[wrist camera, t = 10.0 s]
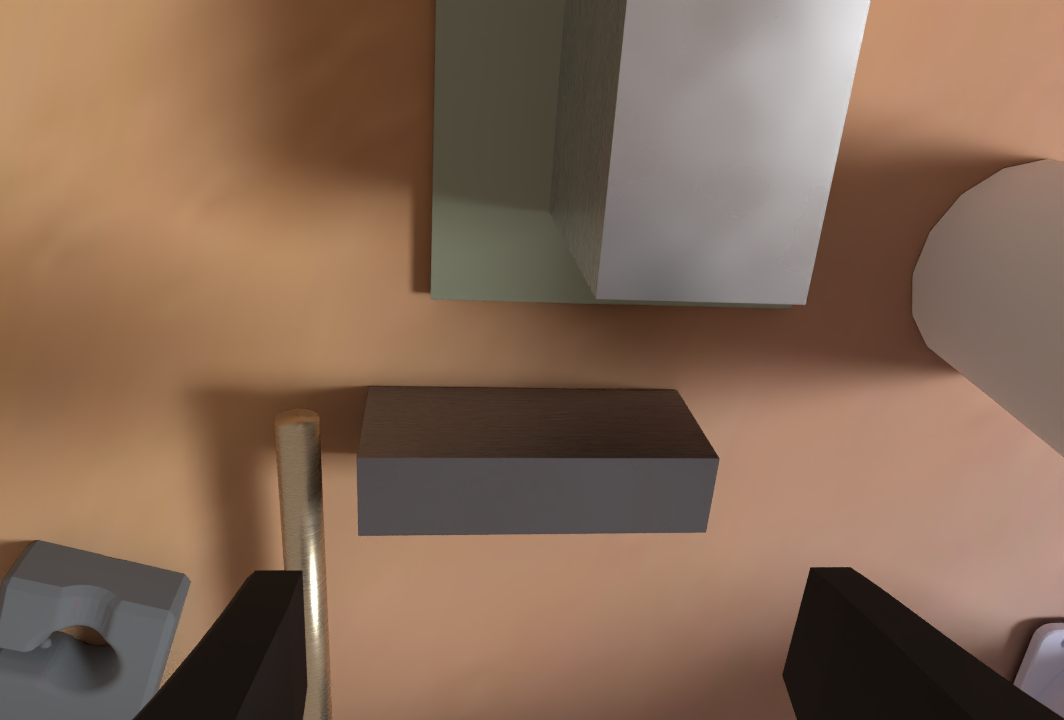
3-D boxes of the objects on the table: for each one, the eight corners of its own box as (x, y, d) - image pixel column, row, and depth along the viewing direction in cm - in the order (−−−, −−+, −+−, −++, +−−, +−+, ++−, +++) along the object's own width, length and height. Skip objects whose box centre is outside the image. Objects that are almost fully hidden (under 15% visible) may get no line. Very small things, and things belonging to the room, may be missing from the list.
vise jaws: (677, 390, 21) (719, 458, 18) (612, 810, 28) (635, 915, 25) (286, 385, 20) (259, 457, 17) (313, 826, 26) (296, 939, 23)
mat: (915, -336, 16) (926, -344, 15) (785, 303, 21) (791, 309, 20) (443, -400, 14) (443, -410, 14) (431, 293, 20) (430, 299, 19)
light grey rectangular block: (760, -183, 16) (930, -278, 10) (700, 218, 19) (805, 304, 14) (580, -202, 15) (659, -312, 10) (549, 211, 19) (596, 299, 13)
